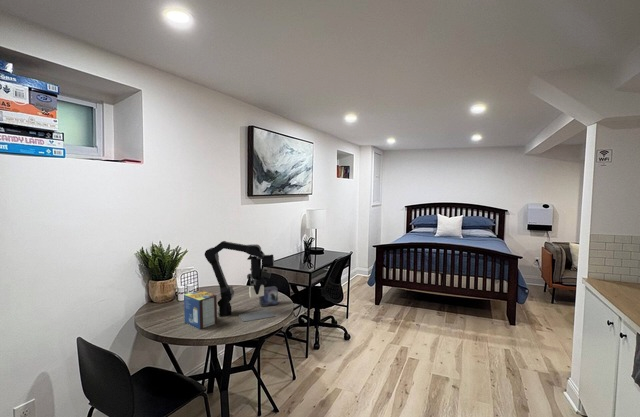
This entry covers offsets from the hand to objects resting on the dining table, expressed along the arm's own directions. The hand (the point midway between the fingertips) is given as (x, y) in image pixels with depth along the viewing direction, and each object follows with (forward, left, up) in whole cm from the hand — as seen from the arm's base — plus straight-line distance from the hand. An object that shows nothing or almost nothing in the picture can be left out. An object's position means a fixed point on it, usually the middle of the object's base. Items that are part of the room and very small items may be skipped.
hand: (256, 293), depth 195 cm
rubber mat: (-1, -3, -12) cm, 12 cm away
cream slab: (0, 0, -2) cm, 2 cm away
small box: (+11, +13, -12) cm, 21 cm away
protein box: (-31, 0, -12) cm, 33 cm away
